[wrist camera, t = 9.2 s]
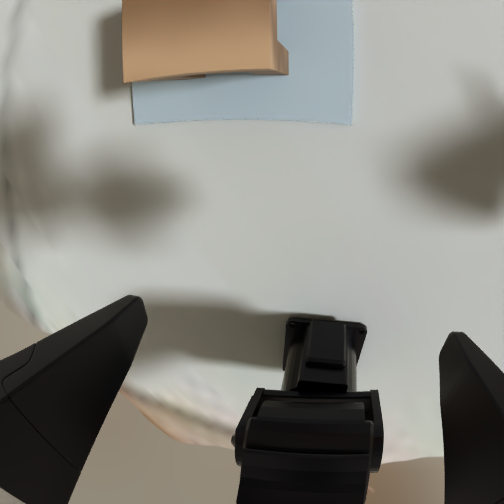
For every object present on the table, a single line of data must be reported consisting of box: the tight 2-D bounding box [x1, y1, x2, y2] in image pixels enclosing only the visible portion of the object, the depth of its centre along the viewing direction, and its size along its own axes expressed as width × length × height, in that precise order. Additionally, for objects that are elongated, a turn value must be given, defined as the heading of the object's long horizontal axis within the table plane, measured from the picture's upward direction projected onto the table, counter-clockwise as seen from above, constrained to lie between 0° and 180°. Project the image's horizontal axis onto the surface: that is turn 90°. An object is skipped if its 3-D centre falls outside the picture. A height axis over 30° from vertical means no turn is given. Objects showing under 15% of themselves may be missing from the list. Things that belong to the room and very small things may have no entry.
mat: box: [132, 0, 354, 125], centre depth 15 cm, size 12×14×1 cm
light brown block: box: [122, 0, 289, 83], centre depth 12 cm, size 6×6×6 cm
